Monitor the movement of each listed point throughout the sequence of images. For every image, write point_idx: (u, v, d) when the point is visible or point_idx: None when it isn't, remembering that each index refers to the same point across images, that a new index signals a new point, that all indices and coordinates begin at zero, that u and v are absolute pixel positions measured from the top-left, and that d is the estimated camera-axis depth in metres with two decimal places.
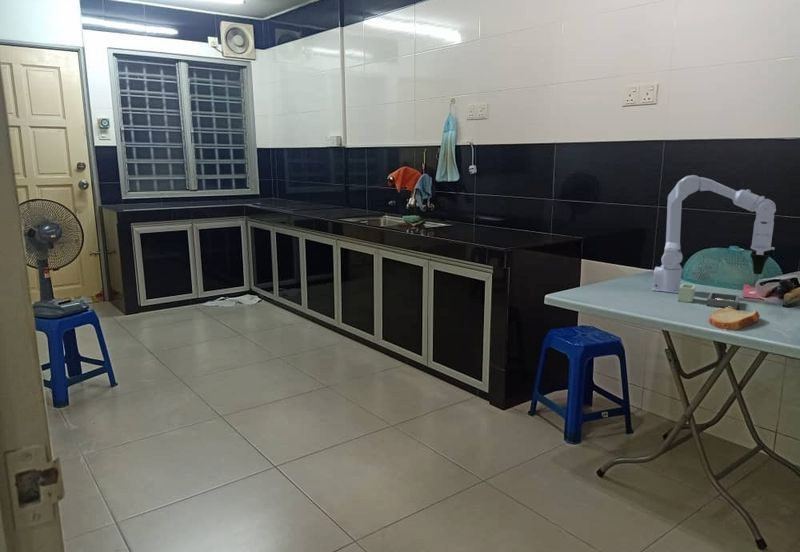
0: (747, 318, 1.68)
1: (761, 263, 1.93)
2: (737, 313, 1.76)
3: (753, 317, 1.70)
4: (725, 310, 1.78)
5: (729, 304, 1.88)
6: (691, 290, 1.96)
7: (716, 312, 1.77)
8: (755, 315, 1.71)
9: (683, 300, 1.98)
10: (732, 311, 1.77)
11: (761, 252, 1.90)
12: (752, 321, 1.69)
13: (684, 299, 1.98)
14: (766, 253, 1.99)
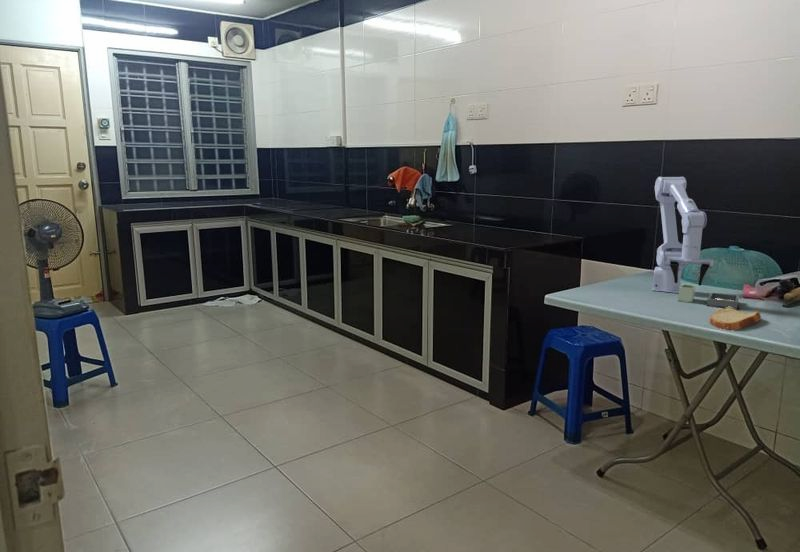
0: (748, 318, 1.68)
1: None
2: (738, 313, 1.76)
3: (754, 317, 1.70)
4: (726, 310, 1.78)
5: (729, 304, 1.88)
6: (691, 290, 1.96)
7: (717, 312, 1.77)
8: (756, 315, 1.71)
9: (683, 300, 1.98)
10: (733, 311, 1.77)
11: (667, 259, 2.01)
12: (753, 321, 1.69)
13: (684, 299, 1.98)
14: None
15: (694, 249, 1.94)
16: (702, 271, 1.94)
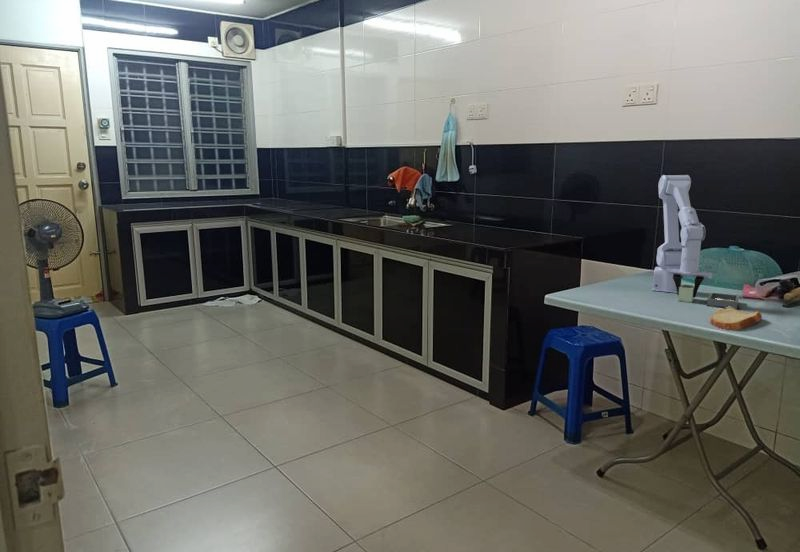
0: (749, 318, 1.68)
1: None
2: (739, 313, 1.75)
3: (755, 318, 1.69)
4: (727, 310, 1.78)
5: (729, 304, 1.88)
6: (691, 290, 1.96)
7: (718, 312, 1.76)
8: (757, 315, 1.71)
9: (683, 300, 1.98)
10: (734, 311, 1.77)
11: (666, 272, 2.02)
12: (754, 321, 1.69)
13: (684, 299, 1.98)
14: (695, 280, 1.96)
15: (693, 262, 1.95)
16: (696, 283, 1.96)
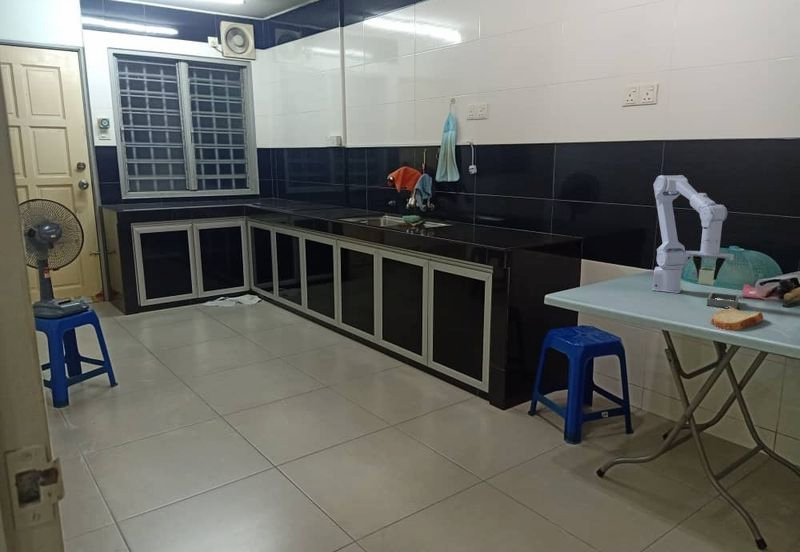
0: (749, 319, 1.67)
1: None
2: (740, 314, 1.75)
3: (756, 318, 1.69)
4: (728, 311, 1.78)
5: (729, 304, 1.88)
6: (712, 273, 1.91)
7: (719, 312, 1.76)
8: (758, 316, 1.70)
9: (703, 283, 1.93)
10: (735, 312, 1.77)
11: (685, 254, 1.98)
12: (755, 322, 1.69)
13: (704, 282, 1.93)
14: (716, 261, 1.92)
15: (714, 243, 1.90)
16: (717, 265, 1.91)
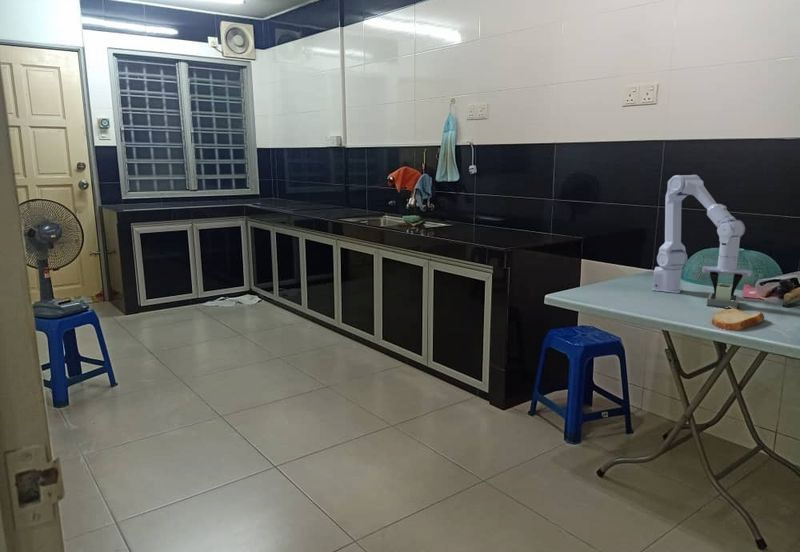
0: (750, 319, 1.67)
1: None
2: (741, 314, 1.75)
3: (757, 318, 1.69)
4: (729, 311, 1.77)
5: (729, 304, 1.88)
6: (729, 290, 1.89)
7: (720, 313, 1.76)
8: (759, 316, 1.70)
9: None
10: (736, 312, 1.76)
11: None
12: (755, 322, 1.68)
13: (722, 299, 1.91)
14: None
15: (731, 259, 1.88)
16: (735, 281, 1.89)
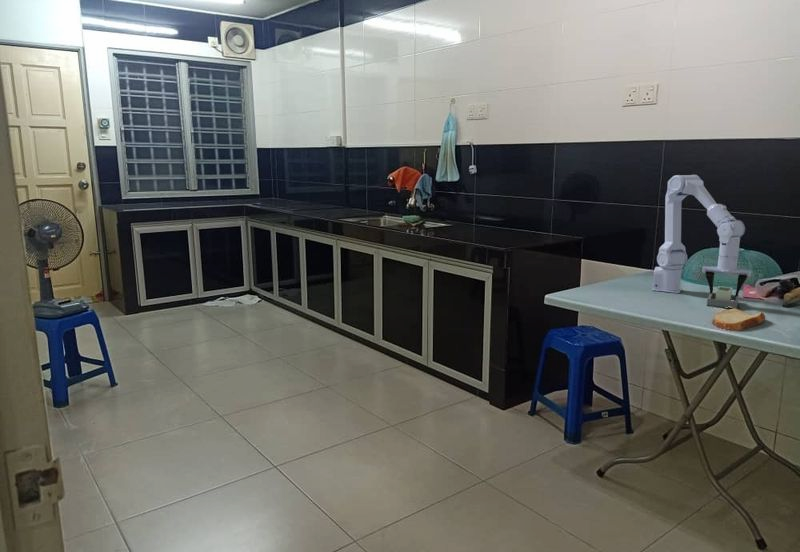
0: (750, 319, 1.67)
1: None
2: (742, 314, 1.75)
3: (758, 318, 1.69)
4: (730, 311, 1.77)
5: (729, 304, 1.88)
6: (729, 293, 1.89)
7: (720, 313, 1.76)
8: (760, 316, 1.70)
9: None
10: (737, 312, 1.76)
11: None
12: (756, 322, 1.68)
13: None
14: (738, 278, 1.89)
15: (731, 259, 1.88)
16: (739, 282, 1.88)
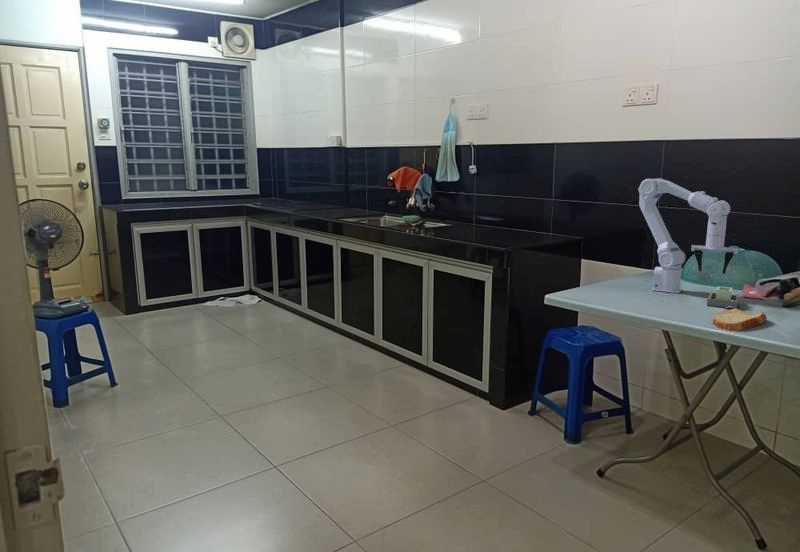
0: (751, 319, 1.67)
1: None
2: (743, 314, 1.74)
3: (758, 319, 1.68)
4: (731, 311, 1.77)
5: (729, 304, 1.88)
6: (729, 293, 1.89)
7: (721, 313, 1.76)
8: (761, 317, 1.69)
9: None
10: (738, 312, 1.76)
11: (691, 248, 2.05)
12: (757, 323, 1.68)
13: None
14: (725, 256, 1.98)
15: (719, 237, 1.97)
16: (726, 259, 1.97)
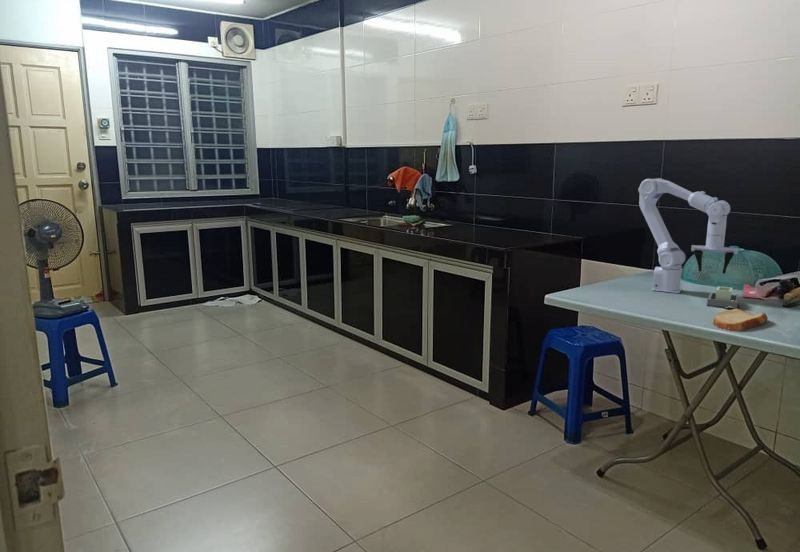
0: (752, 320, 1.66)
1: None
2: (744, 314, 1.74)
3: (759, 319, 1.68)
4: (732, 311, 1.77)
5: (729, 304, 1.88)
6: (729, 293, 1.89)
7: (722, 313, 1.76)
8: (761, 317, 1.69)
9: None
10: (739, 312, 1.76)
11: (691, 248, 2.05)
12: (757, 323, 1.68)
13: None
14: (725, 256, 1.98)
15: (719, 237, 1.97)
16: (726, 259, 1.97)
